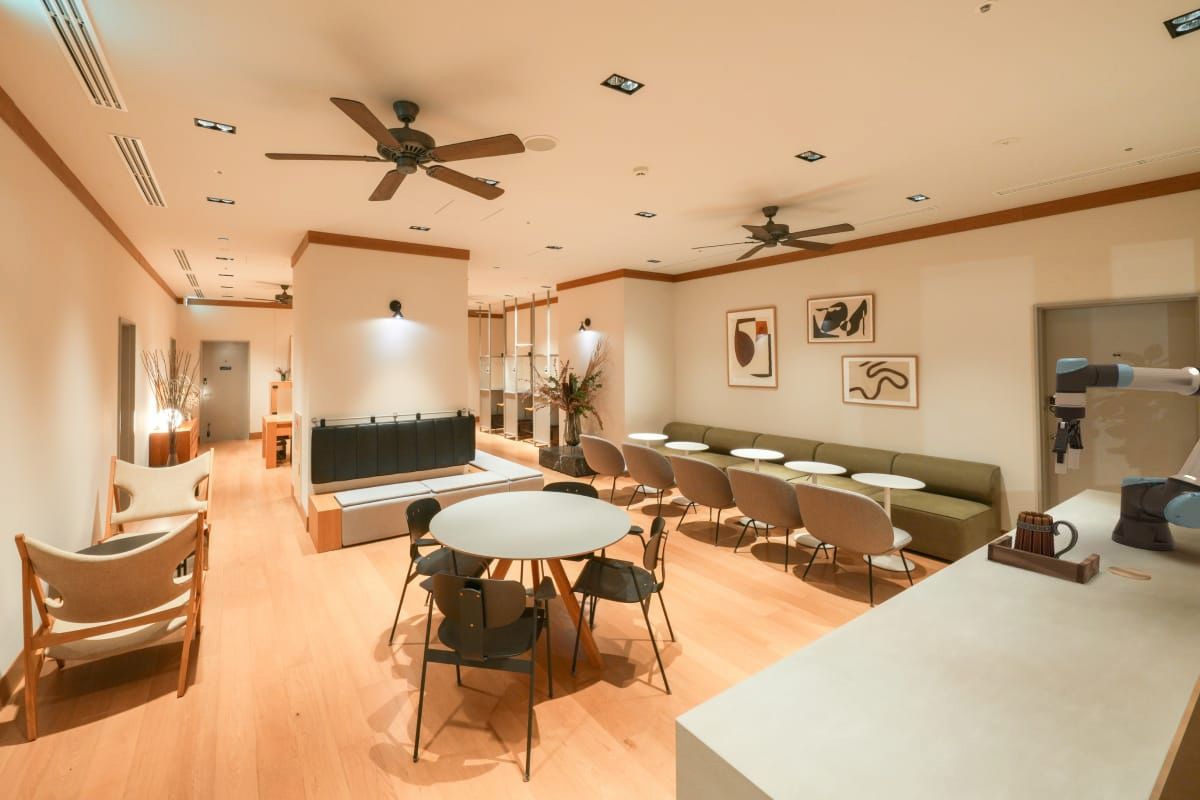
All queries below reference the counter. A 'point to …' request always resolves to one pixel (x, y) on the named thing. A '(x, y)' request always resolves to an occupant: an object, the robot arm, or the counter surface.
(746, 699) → the counter surface
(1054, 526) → the mug
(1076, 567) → the bay
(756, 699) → the counter surface
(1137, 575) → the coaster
